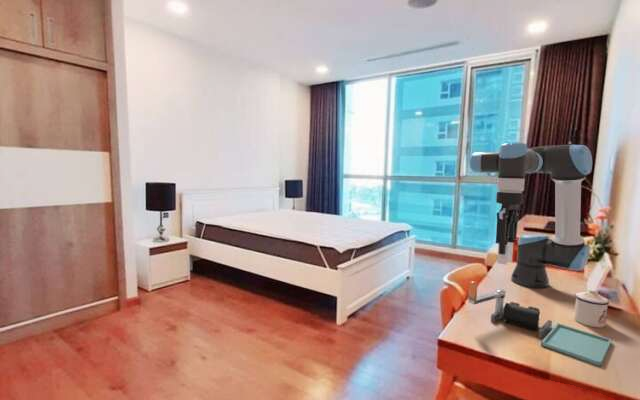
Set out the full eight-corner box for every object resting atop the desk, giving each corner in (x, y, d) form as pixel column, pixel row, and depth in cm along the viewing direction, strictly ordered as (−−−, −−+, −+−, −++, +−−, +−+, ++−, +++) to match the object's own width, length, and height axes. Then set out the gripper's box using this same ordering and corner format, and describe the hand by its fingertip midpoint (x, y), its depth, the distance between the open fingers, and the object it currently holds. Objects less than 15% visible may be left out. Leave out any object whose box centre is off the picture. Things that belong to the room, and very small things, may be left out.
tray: (557, 326, 113) (557, 323, 113) (611, 343, 103) (611, 339, 103) (540, 345, 101) (541, 341, 100) (600, 366, 90) (600, 362, 90)
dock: (500, 312, 124) (502, 292, 123) (551, 328, 112) (553, 305, 111) (488, 320, 116) (490, 299, 116) (541, 338, 105) (543, 315, 104)
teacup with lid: (605, 331, 111) (609, 297, 110) (571, 322, 117) (574, 290, 116) (607, 319, 120) (610, 288, 118) (575, 311, 126) (578, 281, 125)
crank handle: (507, 296, 118) (508, 276, 117) (474, 306, 109) (475, 284, 108) (498, 293, 121) (499, 273, 120) (465, 303, 112) (467, 281, 111)
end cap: (502, 324, 114) (503, 305, 114) (507, 317, 120) (508, 299, 119) (536, 334, 108) (538, 314, 107) (539, 326, 113) (541, 307, 113)
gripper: (506, 190, 115) (502, 255, 118) (487, 191, 104) (482, 264, 106) (531, 191, 110) (525, 260, 112) (513, 193, 99) (507, 270, 101)
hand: (504, 262), depth 109 cm, fingers open, 4 cm apart
